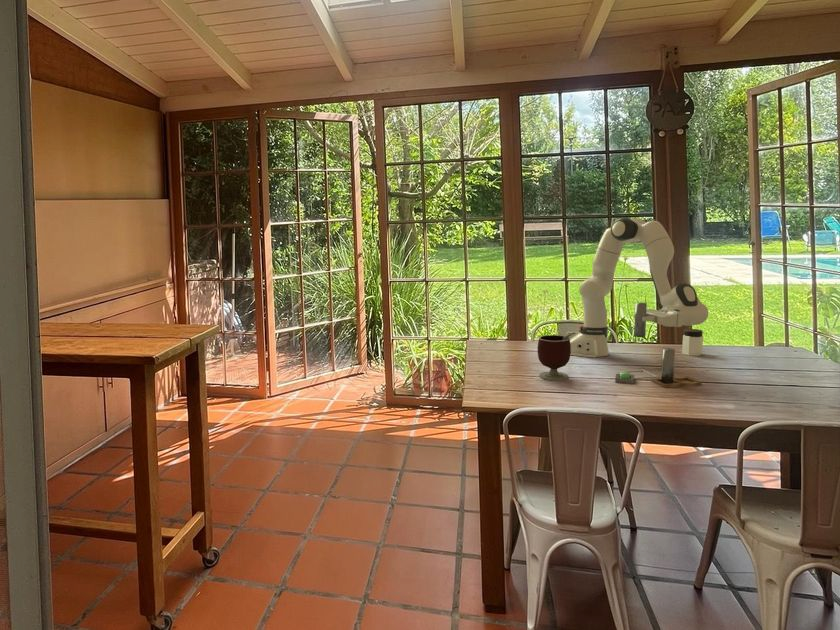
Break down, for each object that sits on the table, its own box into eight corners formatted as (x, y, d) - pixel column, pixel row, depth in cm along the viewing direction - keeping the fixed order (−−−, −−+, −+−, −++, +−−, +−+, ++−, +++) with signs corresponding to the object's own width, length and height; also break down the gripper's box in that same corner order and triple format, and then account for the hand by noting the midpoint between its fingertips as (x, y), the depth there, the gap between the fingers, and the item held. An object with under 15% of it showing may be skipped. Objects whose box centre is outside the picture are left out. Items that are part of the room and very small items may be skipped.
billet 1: (633, 337, 222) (635, 303, 220) (634, 335, 226) (635, 302, 224) (645, 337, 220) (646, 304, 218) (645, 335, 224) (646, 302, 222)
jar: (686, 351, 269) (688, 327, 267) (704, 353, 263) (705, 329, 261) (679, 354, 263) (681, 330, 261) (697, 357, 257) (698, 332, 255)
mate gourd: (534, 379, 227) (535, 333, 223) (539, 371, 239) (540, 327, 236) (572, 382, 221) (573, 335, 218) (575, 373, 234) (576, 329, 231)
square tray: (632, 381, 220) (632, 378, 220) (619, 374, 231) (619, 371, 231) (657, 379, 221) (657, 376, 221) (643, 372, 232) (643, 369, 232)
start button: (619, 383, 216) (619, 374, 216) (619, 380, 220) (620, 371, 219) (629, 384, 215) (630, 375, 214) (630, 381, 219) (630, 372, 218)
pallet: (663, 390, 207) (663, 385, 207) (650, 384, 216) (650, 378, 216) (701, 387, 209) (701, 382, 209) (687, 381, 218) (687, 376, 218)
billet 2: (661, 384, 211) (662, 350, 208) (660, 381, 215) (662, 347, 212) (673, 385, 209) (675, 350, 207) (672, 382, 213) (674, 348, 211)
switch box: (615, 385, 216) (615, 378, 215) (615, 380, 222) (616, 373, 222) (633, 386, 213) (633, 379, 213) (634, 382, 219) (634, 374, 219)
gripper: (655, 305, 233) (626, 306, 232) (684, 312, 213) (652, 313, 211) (655, 319, 234) (625, 320, 233) (683, 327, 214) (651, 329, 213)
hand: (638, 317), depth 222 cm, fingers closed on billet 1, 4 cm apart
